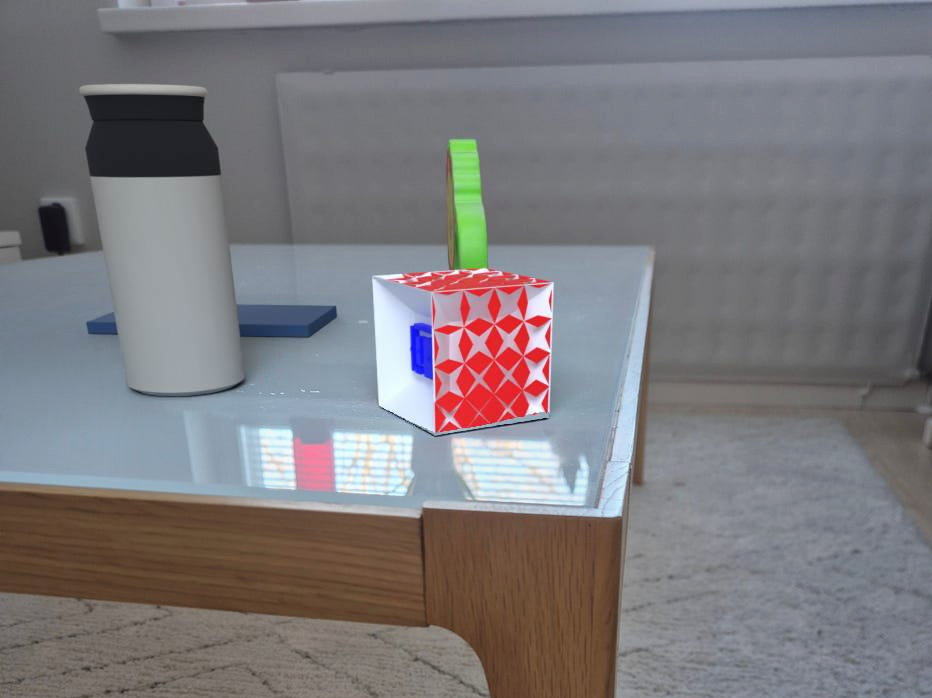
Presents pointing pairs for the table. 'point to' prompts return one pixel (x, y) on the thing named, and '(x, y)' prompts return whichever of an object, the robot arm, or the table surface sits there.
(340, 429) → the table surface
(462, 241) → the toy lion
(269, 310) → the blue mat
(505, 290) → the red patterned cube box
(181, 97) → the travel mug
